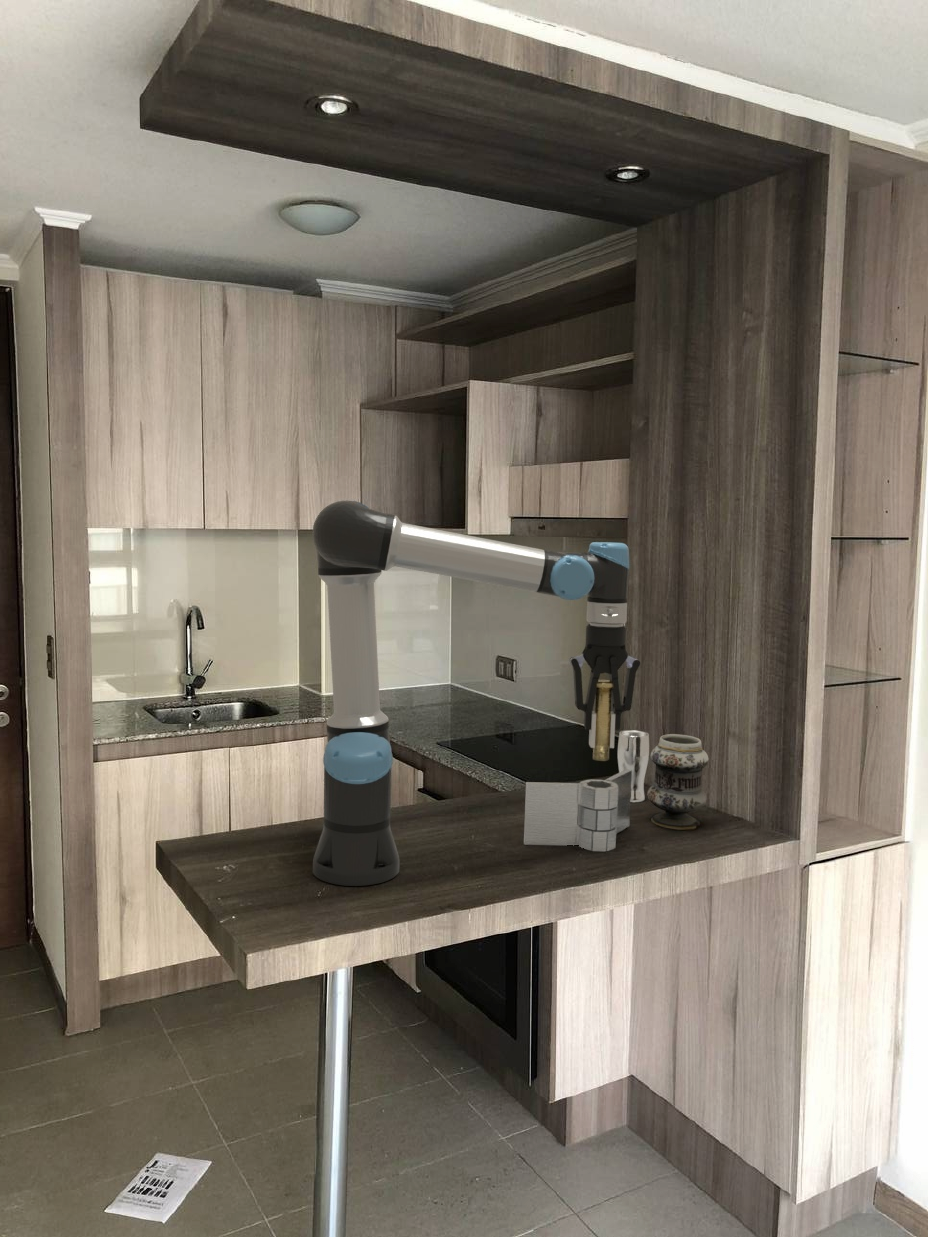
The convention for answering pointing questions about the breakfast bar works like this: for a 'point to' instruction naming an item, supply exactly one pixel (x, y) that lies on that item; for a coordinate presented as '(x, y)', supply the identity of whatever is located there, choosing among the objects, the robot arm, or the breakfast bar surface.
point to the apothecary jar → (678, 781)
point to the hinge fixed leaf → (568, 813)
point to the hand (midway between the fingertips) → (601, 746)
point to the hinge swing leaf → (613, 816)
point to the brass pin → (602, 720)
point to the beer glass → (634, 759)
